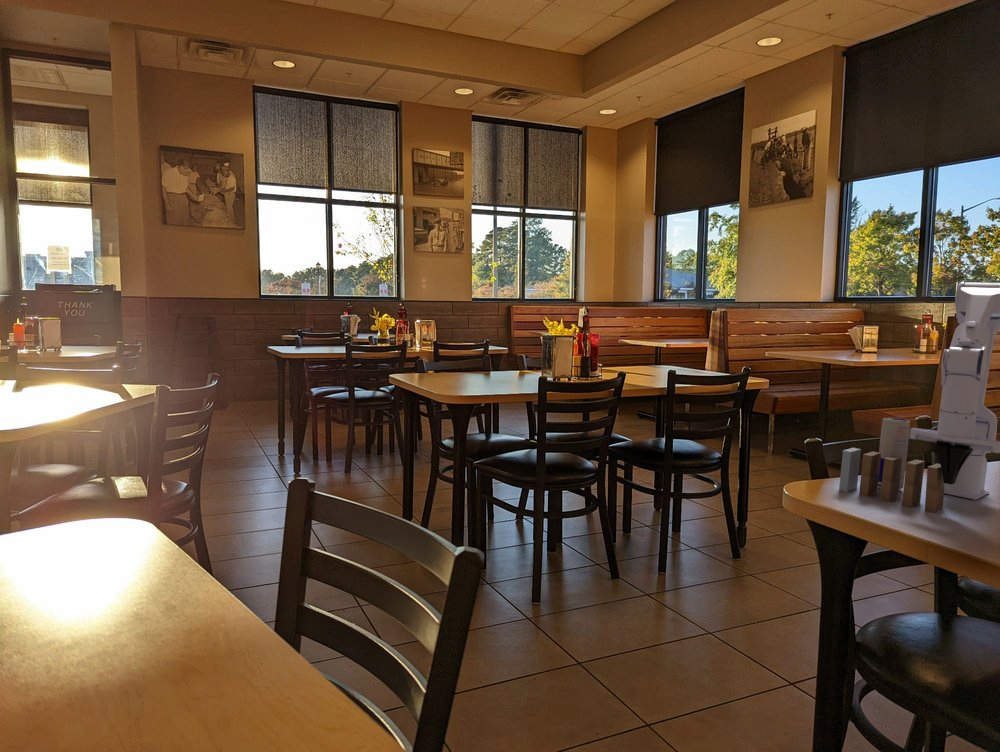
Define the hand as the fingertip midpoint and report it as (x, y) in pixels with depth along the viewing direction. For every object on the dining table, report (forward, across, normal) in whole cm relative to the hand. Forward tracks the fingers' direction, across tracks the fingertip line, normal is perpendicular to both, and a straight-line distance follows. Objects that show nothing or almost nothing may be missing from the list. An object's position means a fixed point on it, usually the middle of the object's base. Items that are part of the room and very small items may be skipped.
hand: (949, 483), depth 130 cm
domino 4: (+6, -6, 0) cm, 8 cm away
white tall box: (+6, -13, +8) cm, 16 cm away
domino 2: (+6, -14, 0) cm, 15 cm away
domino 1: (+6, -18, 0) cm, 19 cm away
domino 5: (+6, -2, 0) cm, 6 cm away
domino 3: (+6, -10, 0) cm, 11 cm away
